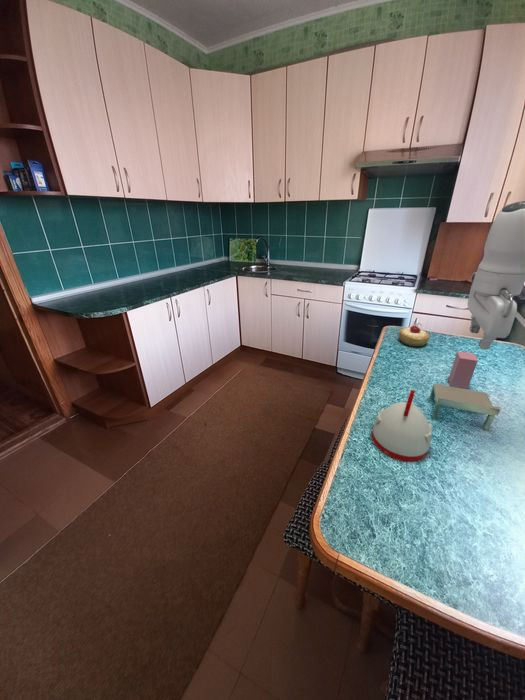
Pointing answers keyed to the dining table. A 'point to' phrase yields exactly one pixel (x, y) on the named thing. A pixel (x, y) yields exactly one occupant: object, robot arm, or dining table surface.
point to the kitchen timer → (402, 431)
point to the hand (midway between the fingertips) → (478, 339)
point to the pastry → (414, 336)
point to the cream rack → (463, 401)
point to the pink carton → (462, 369)
